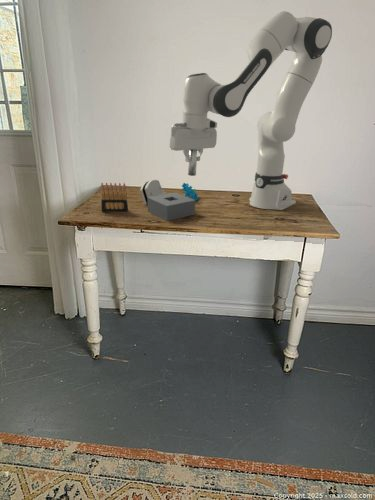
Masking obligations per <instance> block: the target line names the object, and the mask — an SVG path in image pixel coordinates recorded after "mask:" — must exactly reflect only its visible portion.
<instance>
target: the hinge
mask: <svg viewBox="0 0 375 500" xmlns="http://www.w3.org/2000/svg"><path fill="white" fill-rule="evenodd" d="M140 187H141V188H140V189H139V191H140V194H141V197H142V200H143V205H144V206H148V201H147V197H153V196H158V195H163V194H167V193H166V192H165V191H164V190H163V188H162V185H161V183H160V181H159V180H158V179H153V180H152V179H151V180H148V181H146V182H144V183H143V184H142V185H141V186H140Z"/></svg>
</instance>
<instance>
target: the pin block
mask: <svg viewBox="0 0 375 500" xmlns="http://www.w3.org/2000/svg"><path fill="white" fill-rule="evenodd" d="M147 201H148V204H147V212H148V213H150V214H152V215H155V216H157V217H158V218H159V219H163V220H164V221H168V222H169V221H173V220H175V219H176V220H177V219H180V218H184V217H188V216H193V215H196V201H195V200H193V199H192V197H191V198H188V196H187V197H186V196H184V195H182V194H180V193H178V192H176V191H175V192H169V193H166V194H163V195H158V196H153V197H147Z"/></svg>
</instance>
